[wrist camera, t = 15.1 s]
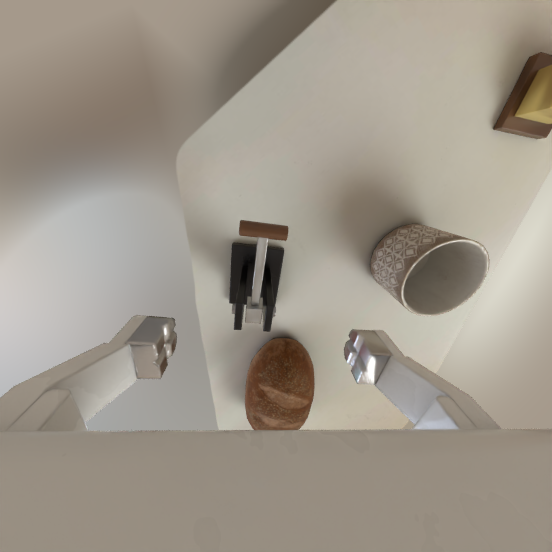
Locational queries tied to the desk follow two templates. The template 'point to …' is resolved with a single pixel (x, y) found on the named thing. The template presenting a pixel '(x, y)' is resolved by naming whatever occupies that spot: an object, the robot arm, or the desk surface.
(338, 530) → the robot arm
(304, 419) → the bread
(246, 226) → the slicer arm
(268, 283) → the slicer
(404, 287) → the planter
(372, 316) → the desk surface
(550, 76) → the butter
